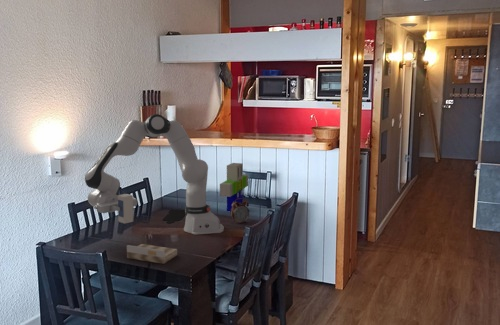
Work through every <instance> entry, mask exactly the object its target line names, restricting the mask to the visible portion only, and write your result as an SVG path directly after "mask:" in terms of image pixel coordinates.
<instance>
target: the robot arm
mask: <svg viewBox="0 0 500 325" xmlns="http://www.w3.org/2000/svg"><path fill="white" fill-rule="evenodd" d="M160 136H163V137H165V138H166V140H167V141H168V143H169V145H170V147H171V149H172V151H173V153H174V155H175V156H176V159H177V162H178V165H179V168H180V170H181V177H182V179H183V180H184V182H186V189H185V208H184V210H185V214H186V215H185V222H184V227H183V231H184V232H186V233H189V234H192V235H196V236H197V235H208V234H210V235H211V234H220V233H223V232H224V230H225V227H224V225H223V224H221V221H220V218H219V217H218V216H217V215H216V214H214V213H213V212H212V211H211V206H210V205H209V204H207V186H208V173H209V171H208V170H209V165H208V163H207V162H206V161H205V160H203V159H198V156H197V153H196V149H195V145H193V142H192V140H191V139H190V136H189V135H188V133H187V130H185V128H184V126H183V125H182V124H181V123H180V122H179V121H178V120H175V119H174V120H171V121H170V120H169V119H167V118H166V117H165V116H163V115H161V114H158V113H155V114H151V115H150V116H148V117H147V118H146V120H145V121H140V120H137V119H132V120H130V121H129V122H128V123H127V124H126V126H125V127H124V129H123V131H122V132H121V135H120V136H119V138H118V139H117V140H116V141H113V142H110V143H109V144H108V145H107V147H106V148H105V149H104V151H103V152H102V153H101V155H100V156H99V158H98V159H97V160H96V161H95V163H94V164H93V166H92V167H91V168H90V169H89V170H88V171H87V172H86V173H85V175H84V181H85V185H86V186H87V187H88V188H91V189H93V190H92V191H90V192H89V193H88V195H87V201H88V203H89V204H90V206H92V208H93V209H95V210H96V212H98V213H101V214H106V213H113V212H114V213H115V212H118V211H121V210H122V208H121V207H118V195H122V194H123V193H122V194H121V193H120V194H119V192H120V188H121V182H120V180H119V179H118V178H117V177H115V176H113V175H111V174H109V173H107V172H105V171H104V170H105V169H106V167H107V165H108V164H109V163H110V162H111V160H112V159H113V158H114V157H116V156H123V157H128V156H133V155H135V154H136V153H137V151H138V150H139V148H140V146H141V143H143V140H144V138H149V139H155V138H158V137H160ZM137 205H138V200H137V198H136V197H133V208H135V207H137Z"/></svg>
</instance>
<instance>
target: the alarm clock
mask: <svg viewBox="0 0 500 325" xmlns="http://www.w3.org/2000/svg"><path fill="white" fill-rule="evenodd" d="M238 199H243V202H242V204H241V203H238V202H234V201H233V203H232V209H231V212H229V214H230V217H231V220H232V219H233V223H235V225H236V224H237V223H244V222H246V223H247V221H246V220H248V219H249V216H250V210H249V208H248V207H249V204H250V203H249V202H248V200H246V199H245V198H244V197H243V198H238ZM236 200H237V199H236ZM236 200H235V201H236Z"/></svg>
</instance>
